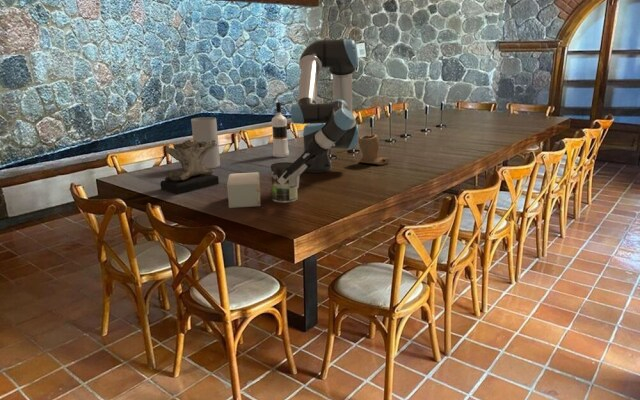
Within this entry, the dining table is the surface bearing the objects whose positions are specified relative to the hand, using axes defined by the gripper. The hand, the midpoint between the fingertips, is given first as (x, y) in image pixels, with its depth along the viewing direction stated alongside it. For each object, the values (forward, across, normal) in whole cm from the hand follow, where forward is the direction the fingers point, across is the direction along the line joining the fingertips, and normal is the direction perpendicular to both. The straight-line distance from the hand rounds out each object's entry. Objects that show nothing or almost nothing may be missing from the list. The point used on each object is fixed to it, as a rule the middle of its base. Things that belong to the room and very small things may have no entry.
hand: (287, 178), depth 199 cm
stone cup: (-2, +72, -15) cm, 74 cm away
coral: (+41, +6, +28) cm, 50 cm away
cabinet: (+18, -7, +5) cm, 19 cm away
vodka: (+36, +77, +24) cm, 88 cm away
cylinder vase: (+54, +42, +42) cm, 80 cm away
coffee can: (+8, +1, -5) cm, 9 cm away
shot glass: (+11, +18, -1) cm, 21 cm away
